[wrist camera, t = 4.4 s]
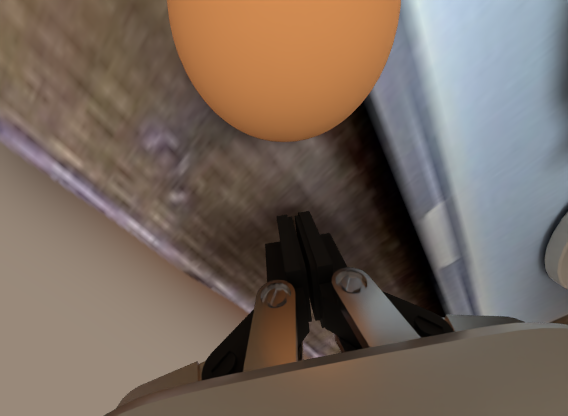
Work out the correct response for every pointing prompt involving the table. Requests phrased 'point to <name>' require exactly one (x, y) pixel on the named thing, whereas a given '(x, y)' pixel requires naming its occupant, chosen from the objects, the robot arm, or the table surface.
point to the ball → (284, 59)
